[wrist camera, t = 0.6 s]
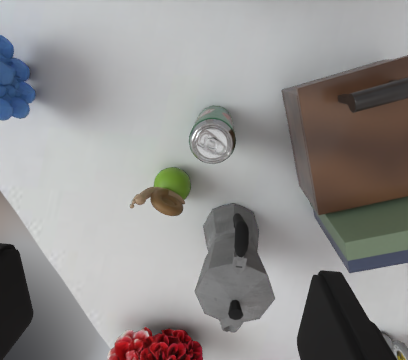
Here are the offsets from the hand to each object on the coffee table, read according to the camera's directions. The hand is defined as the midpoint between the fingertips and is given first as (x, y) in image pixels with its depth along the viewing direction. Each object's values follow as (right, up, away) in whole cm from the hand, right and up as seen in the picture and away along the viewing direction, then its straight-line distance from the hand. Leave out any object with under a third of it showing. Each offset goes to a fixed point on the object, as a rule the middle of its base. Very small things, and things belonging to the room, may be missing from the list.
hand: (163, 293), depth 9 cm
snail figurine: (-4, +4, +35) cm, 35 cm away
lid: (+20, +8, +22) cm, 31 cm away
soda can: (+3, +12, +31) cm, 34 cm away
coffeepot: (+6, -3, +37) cm, 38 cm away
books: (+23, +1, +34) cm, 41 cm away
